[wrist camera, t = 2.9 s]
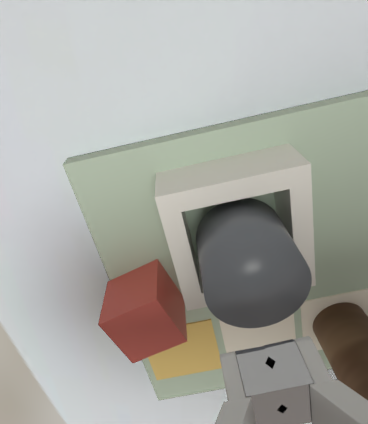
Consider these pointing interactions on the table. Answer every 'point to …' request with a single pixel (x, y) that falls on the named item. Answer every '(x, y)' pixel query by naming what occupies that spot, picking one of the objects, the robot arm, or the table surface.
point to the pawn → (345, 343)
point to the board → (206, 151)
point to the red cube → (144, 312)
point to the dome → (250, 265)
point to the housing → (231, 191)
